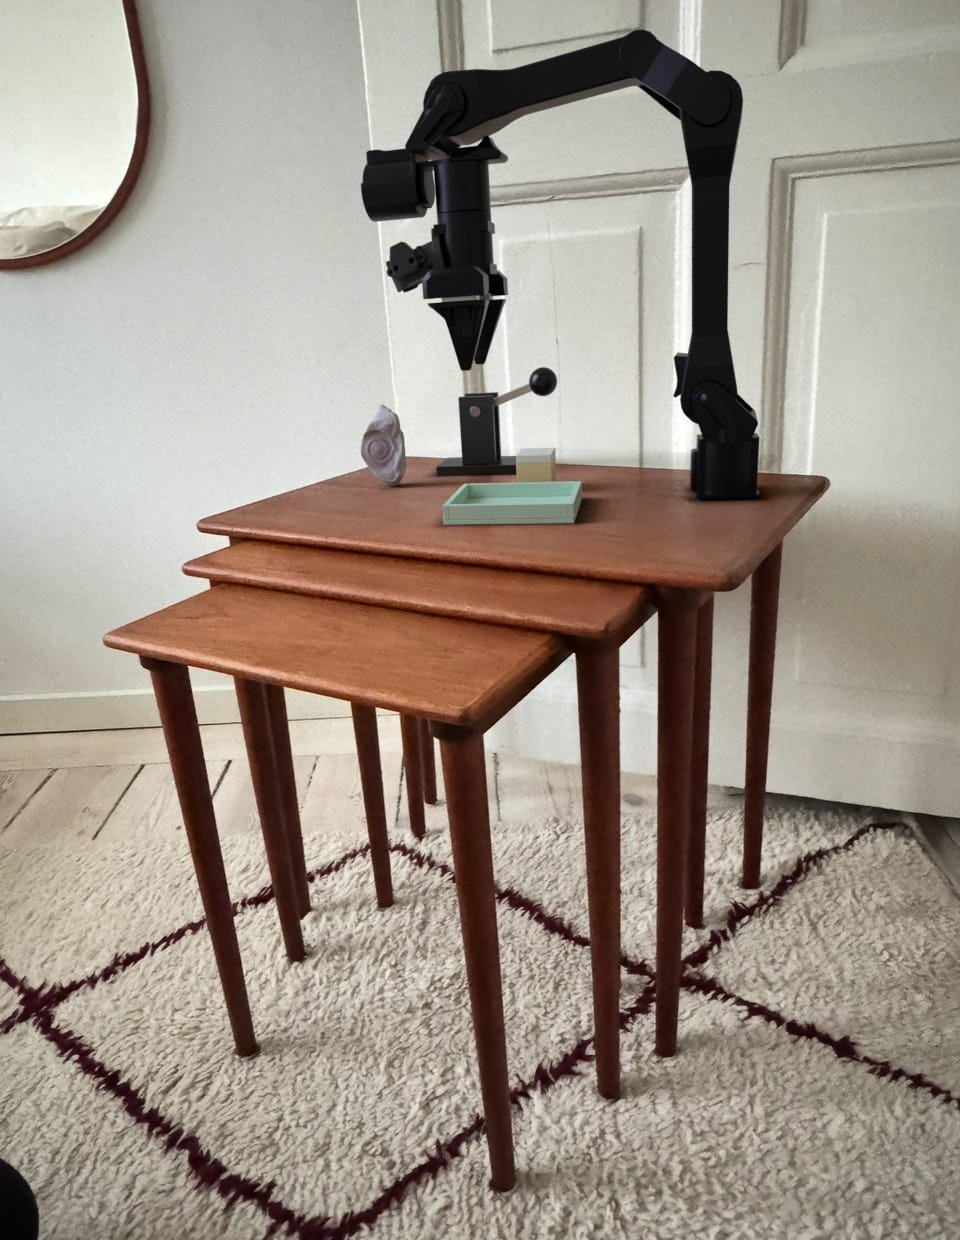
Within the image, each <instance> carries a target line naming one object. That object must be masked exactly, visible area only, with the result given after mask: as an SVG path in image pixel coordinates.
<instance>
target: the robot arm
mask: <svg viewBox="0 0 960 1240" xmlns="http://www.w3.org/2000/svg"><path fill="white" fill-rule="evenodd" d="M630 87H637V88H639V89H640V90H642V91H643V92H644V93H645V94H646V95H648V96H649V97H650V98H652V99H653V100H654V101H655V102H656V103H658V105H659V106H661V107H662V108H663V109H665V110H666V111H667V112H668V113H670V115H672V116H673V117H675V118H676V119H677V120H679V121H680V124H681V131H682V137H683V143H684V149H685V155H686V160H687V167H688V171H689V177H690V183H691V334H690V339H689V345H688V350H687V352H676V354H675V355H674V357H673V362H674V369H675V374H676V375H675V376H676V386H675V390H674V393H673V398H677V397H679V402H680V408H681V411H682V413H683V414H684V416H685V417H686V418H688V419H689V420H690V421H691V422H692V423H694V424H696V425H698V427H699V430H700V431H699V432H700V434H696V446H695V447H696V448H691V450H690V467H689V487H690V488H689V489H690V491H692V492H694V496H695V499H697V500H713V499H714V500H717V499H719V500H720V499H721V500H722V499H723V500H725V499H759V498H760V495H761V494H760V491H759V490H758V479H759V475H758V474H759V457H760V435H758V433H757V432H756V430H757V427H758V426H759V421H758V416H757V412H756V410H755V409H754V408H753V407H752V406H751V405H750V404H749V402H747V401H746V400H745V399H744V398H743V397H742V396H741V395H740V394H739V393H738V386H737V384H738V383H737V378H736V372H735V371H736V370H735V366H734V359H733V354H732V353H733V352H732V347H731V342H730V341H731V340H730V335H729V330H728V328H729V327H728V323H729V321H728V320H729V253H730V252H729V251H730V249H729V248H730V246H729V243H730V238H729V237H730V186H731V180H732V175H733V169H734V164H735V158H736V152H737V147H738V142H739V136H740V130H741V125H742V117H743V107H744V96H743V89H742V87H741V85H740V83H739V81H737V80H736V79H735V78H734V76H732V75H731V74H730V73H727V72H725V71H723V70H709V71H706V70H704V68H702V67H700V66H699V65H698V64H697V63H695V62H694V61H692V60H691V59H689V57H686V56H684V55H683V54H681V53H680V52H678V51H676V50H675V49H673V48H671V47H669V46H667V45H666V44H665V43H663V42H662V41H660V40H659V39H657V37H656V35H655V34H653V32H651V31H649V30H646V29H633V30H632V31H630V32H629V33H627V34H626V35H624V36H621V37H617V38H614V39H610V40H607V41H604V42H603V41H602V42H600V43H597V44H593V45H590V46H586V47H583V48H579V49H576V50H573V51H569V52H566V53H562V54H559V55H555V56H552V57H549V58H545V59H542V60H539V61H535V62H531V63H527V64H525V65H521V66H517V67H514V68H507V69H489V68H488V69H485V68H472V69H459V70H448V71H443V72H441V73H438V74H437V75H435V76H434V77H433V78H432V79H431V80H430V81H429V84H428V86H427V88H426V90H425V92H424V96H423V101H422V109H423V110H422V111H421V113H420V115H419V117H418V119H417V122H416V123H415V126H414V127H413V128H412V131H411V132H410V134H409V137H408V139H407V140H406V143H405V144H404V147H405V148H397V149H389V150H382V149H371V150H369V149H368V150H367V151H366V153H365V154H366V155H365V156H366V164H365V166H364V167H363V172H362V182H360V191H361V192H360V193H361V198H362V203H363V207H364V210H365V212H366V215H367V217H368V218H369V220H370V221H372V222H374V223H376V222H377V223H378V222H388V221H389V222H390V221H398V220H409V219H421V218H424V217H425V216H426V215H427V212H428V210H429V209H432V208H433V206H434V204H435V206H436V207H435V208H436V219H437V220H436V222H437V224H433V225H432V226H433V227H432V228H431V229H430V234H431V241H429V242H426V243H424V244H422V245H417V246H415V248H413V247H412V246H411V245H410V244H408V243H407V242H405V241H399V242H397V243H395V244H394V245H391V246H390V247H389V260H387V261H385V267H386V268H387V269H386V275H387V276H388V277H389V278H391V279H392V283H393V284H394V286H395V289H396V291H397V293H401V292H403V293H408V292H411V291H413V290H415V289H418V287H419V286H420V285H421V286H422V299H423V300H434V299H440V301H439V302H428V303H427V306H428V307H429V308H430V309H432V311H434V312H435V313H436V314H438V315H439V316H440V317H442V318H443V320H444V321H445V324H446V327H447V331H448V334H449V337H450V340H451V343H452V346H453V349H454V352H455V357H456V360H457V363H458V366H459V369H460V371H462V372H465V371H466V372H468V371H471V370H472V368H473V365H474V363H475V365H477V366H479V365H484V364H486V362H487V358H488V356H489V351H490V349H491V345H492V343H493V339H494V337H495V334H496V330H497V328H498V325H499V323H500V318H501V317H502V313H503V310H504V307H505V304H506V302H507V298H496V299H494V297H502V296H509V287H508V286H509V285H508V278H507V276H505V275H504V274H503V273H502V271H500V270H499V269H498V265H497V264H495V262H494V261H495V260H494V246H493V245H494V244H493V235H496V225H495V223H494V222H492V207H491V206H492V203H491V187H490V169H489V168H490V167H489V165H497V164H498V165H499V164H505V163H507V162H508V161H509V156H508V155H507V154H506V153H504V152H503V151H502V150H501V149H500V148H499V147H498V146H497V144H496V143H495V141H494V139H493V138H492V137H490V136H492V135H494V134H497V133H498V132H500V131H501V130H502V129H505V128H506V127H507V126H509V125H510V124H511V123H513V122H514V121H516V120H518V119H520V118H522V117H525V116H527V115H531V114H534V113H538V112H542V111H546V110H550V109H554V108H556V107H561V106H563V105H568V104H571V103H575V102H580V101H583V100H586V99H590V98H594V97H597V96H601V95H605V94H608V93H612V92H616V91H619V90H624V89H627V88H630ZM477 142H479V143H478V144H477V145H473V144H476V143H477ZM470 145H471V146H470Z"/></svg>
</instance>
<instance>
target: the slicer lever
mask: <svg viewBox="0 0 960 1240" xmlns="http://www.w3.org/2000/svg"><path fill="white" fill-rule="evenodd" d="M557 387H558V377H557V375H556V373H555V371H553V370H552V369H551V368H549V367H545V366H542V367H541V366H540V367H538V368H536V369H534V370H533V371H532V372H531V374H530V376H529V379H528V383H527V384H524V385H521V386H520V387H519V386H518V387H517V388H515V389H512V390H510V391H508V392H505V393H503V394H501V395H498V397H496V398H493V400H494V407H495V406H498V405H499V406H500V405H503V404H505V403H507V402H510V401H512V400H515V399H517V398H519V397H521V396H524V395H526V394H529V393H531V392H532V393H533V394H534V395H536V396H539V397H547V396H550V395H552V394H553V393H554V392H555V390H556V389H557ZM486 396H487V395H486Z"/></svg>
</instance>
